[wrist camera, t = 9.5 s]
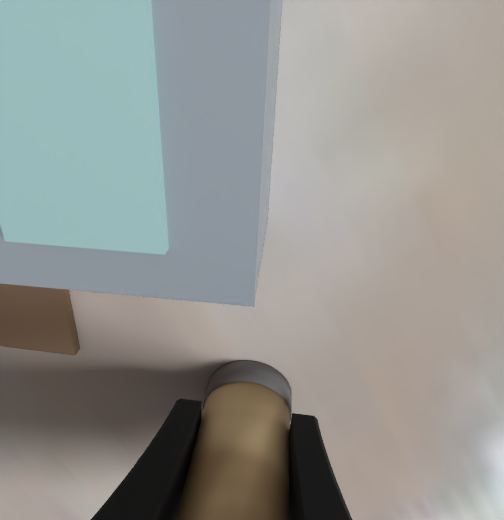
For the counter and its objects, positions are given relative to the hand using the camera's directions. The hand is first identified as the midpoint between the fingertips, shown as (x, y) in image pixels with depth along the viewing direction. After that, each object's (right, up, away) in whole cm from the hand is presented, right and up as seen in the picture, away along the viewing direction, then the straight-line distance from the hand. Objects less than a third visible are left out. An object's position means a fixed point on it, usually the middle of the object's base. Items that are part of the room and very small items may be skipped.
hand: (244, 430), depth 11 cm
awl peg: (0, +1, +1) cm, 1 cm away
